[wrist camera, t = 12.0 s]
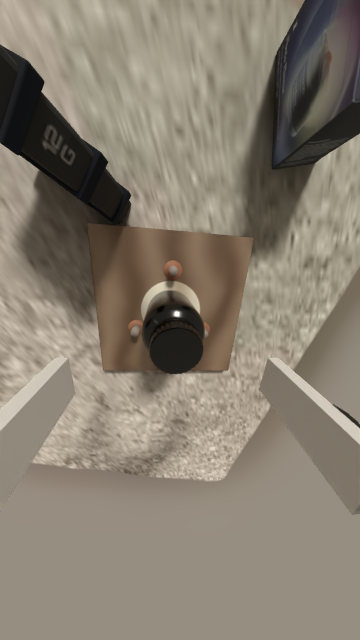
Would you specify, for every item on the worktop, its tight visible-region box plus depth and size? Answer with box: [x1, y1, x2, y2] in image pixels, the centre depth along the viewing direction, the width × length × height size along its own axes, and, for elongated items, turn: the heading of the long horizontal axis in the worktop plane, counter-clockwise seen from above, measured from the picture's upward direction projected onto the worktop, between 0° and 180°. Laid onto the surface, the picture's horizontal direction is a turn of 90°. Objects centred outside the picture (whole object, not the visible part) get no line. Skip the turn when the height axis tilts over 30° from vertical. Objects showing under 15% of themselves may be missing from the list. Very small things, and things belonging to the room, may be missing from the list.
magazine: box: [0, 45, 131, 225], centre depth 15 cm, size 4×13×15 cm, turn 55°
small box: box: [272, 0, 360, 169], centre depth 15 cm, size 11×6×10 cm, turn 9°
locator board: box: [87, 223, 254, 370], centre depth 25 cm, size 22×22×4 cm
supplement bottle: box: [142, 290, 205, 374], centre depth 20 cm, size 7×7×12 cm
